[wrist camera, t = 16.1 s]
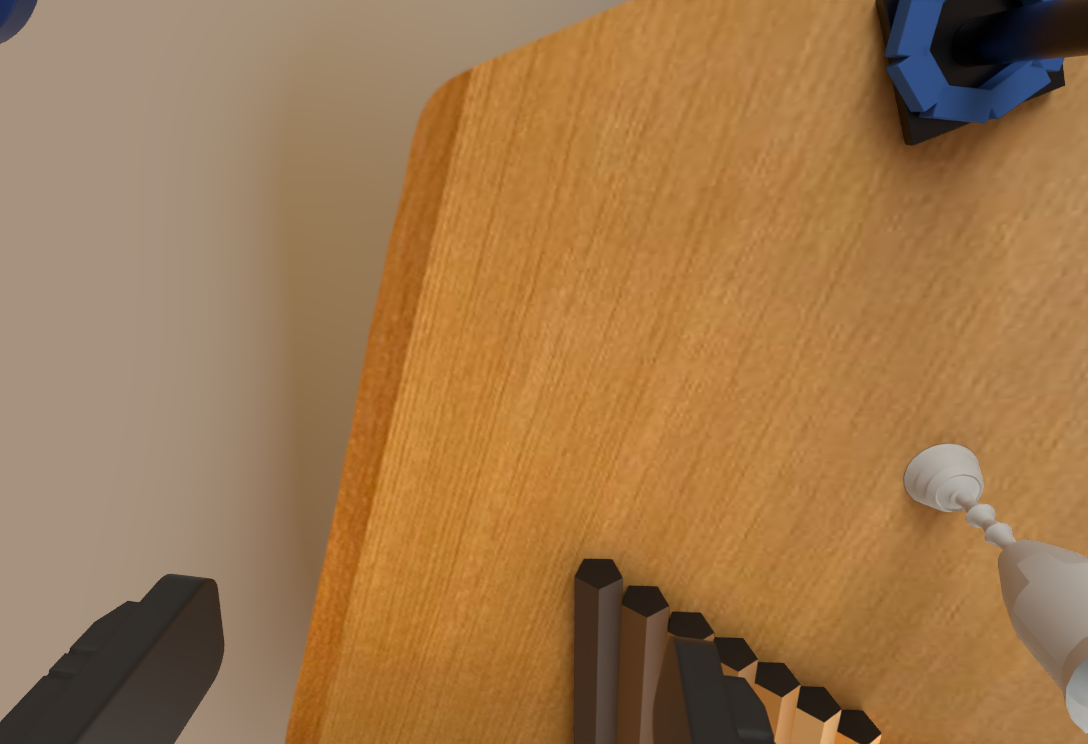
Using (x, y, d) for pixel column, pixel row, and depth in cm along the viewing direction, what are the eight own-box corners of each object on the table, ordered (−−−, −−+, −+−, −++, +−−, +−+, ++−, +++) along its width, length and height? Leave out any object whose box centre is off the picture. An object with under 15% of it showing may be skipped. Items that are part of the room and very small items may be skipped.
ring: (868, 111, 36) (880, 112, 34) (916, -67, 33) (932, -75, 31) (1020, 127, 36) (1039, 128, 34) (1083, -50, 32) (1107, -58, 31)
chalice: (1011, 485, 45) (1259, 704, 29) (921, 533, 47) (1104, 765, 31) (963, 411, 43) (1198, 600, 27) (871, 465, 45) (1037, 672, 29)
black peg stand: (874, -1, 35) (1011, -50, 24) (1033, -71, 33) (1260, -160, 22) (904, 144, 37) (1040, 161, 26) (1053, 86, 36) (1264, 77, 25)
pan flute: (575, 558, 50) (574, 778, 59) (574, 589, 47) (573, 815, 56) (906, 566, 48) (851, 791, 58) (929, 598, 45) (866, 830, 55)
